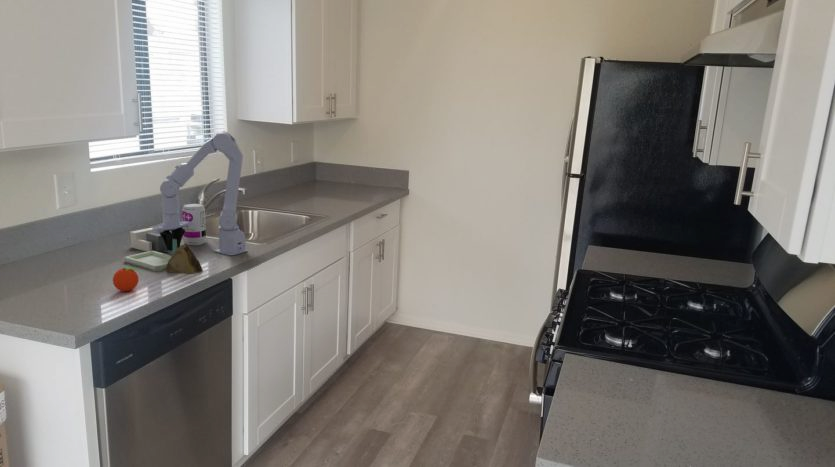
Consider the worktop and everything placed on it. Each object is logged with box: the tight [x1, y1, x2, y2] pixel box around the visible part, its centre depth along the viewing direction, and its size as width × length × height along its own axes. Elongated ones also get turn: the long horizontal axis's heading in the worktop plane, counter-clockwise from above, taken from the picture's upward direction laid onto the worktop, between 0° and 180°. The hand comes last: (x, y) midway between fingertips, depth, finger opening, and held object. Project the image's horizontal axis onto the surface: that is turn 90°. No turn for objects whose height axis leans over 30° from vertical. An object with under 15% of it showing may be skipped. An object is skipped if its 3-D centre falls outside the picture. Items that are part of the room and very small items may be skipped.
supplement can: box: [181, 203, 207, 246], centre depth 233 cm, size 8×8×15 cm
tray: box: [123, 250, 173, 272], centre depth 208 cm, size 18×11×2 cm, turn 59°
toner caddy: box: [146, 232, 177, 255], centre depth 223 cm, size 12×5×6 cm, turn 59°
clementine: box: [112, 267, 142, 292], centre depth 180 cm, size 8×7×7 cm
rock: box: [165, 244, 204, 274], centre depth 200 cm, size 11×9×10 cm
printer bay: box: [129, 227, 154, 252], centre depth 226 cm, size 10×9×6 cm
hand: (173, 249), depth 220 cm, fingers closed on toner caddy, 2 cm apart
